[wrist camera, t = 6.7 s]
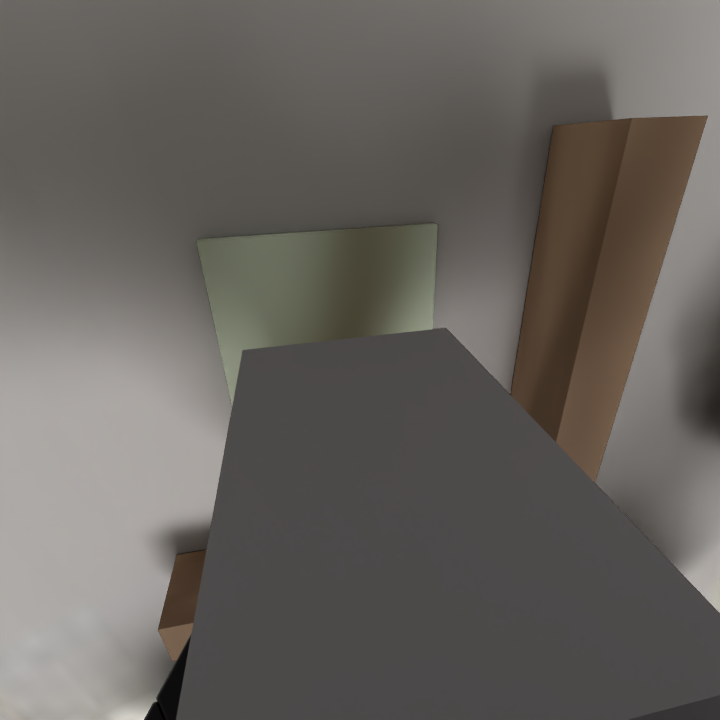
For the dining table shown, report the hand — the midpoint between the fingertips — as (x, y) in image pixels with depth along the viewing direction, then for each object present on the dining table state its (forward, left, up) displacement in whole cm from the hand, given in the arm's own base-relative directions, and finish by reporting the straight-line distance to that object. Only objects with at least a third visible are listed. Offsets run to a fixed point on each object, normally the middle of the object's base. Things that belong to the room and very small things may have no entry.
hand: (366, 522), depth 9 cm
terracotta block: (0, 0, -2) cm, 2 cm away
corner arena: (-1, 0, -6) cm, 6 cm away
